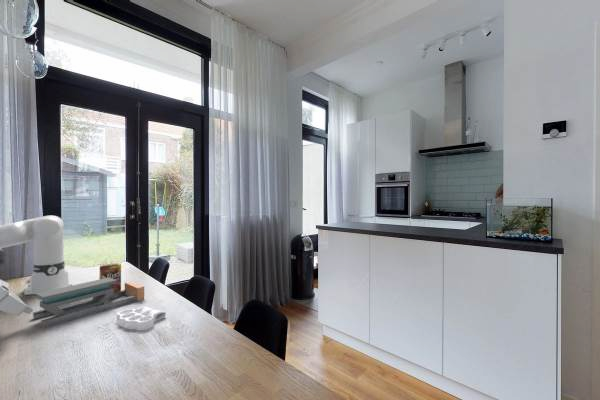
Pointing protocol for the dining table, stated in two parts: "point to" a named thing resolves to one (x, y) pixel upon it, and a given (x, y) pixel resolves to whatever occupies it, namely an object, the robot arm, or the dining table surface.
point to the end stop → (134, 290)
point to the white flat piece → (139, 318)
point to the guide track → (84, 311)
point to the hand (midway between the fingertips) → (30, 311)
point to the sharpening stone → (76, 296)
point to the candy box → (112, 274)
